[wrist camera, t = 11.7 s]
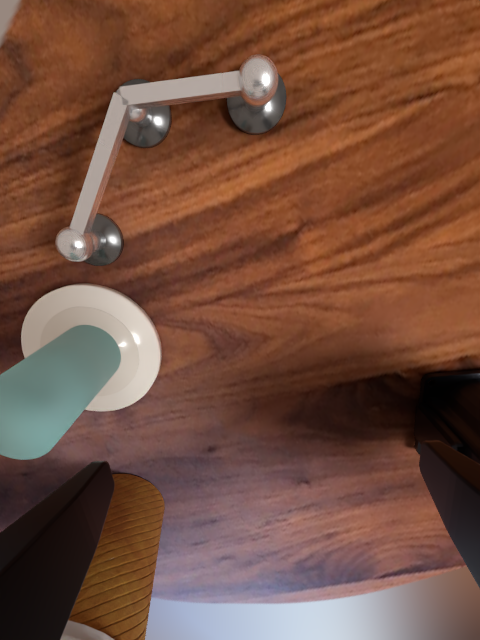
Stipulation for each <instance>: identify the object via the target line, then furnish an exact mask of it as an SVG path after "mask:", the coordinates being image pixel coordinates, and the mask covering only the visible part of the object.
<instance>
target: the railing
mask: <svg viewBox="0 0 480 640" xmlns="http://www.w3.org/2000/svg"><path fill="white" fill-rule="evenodd" d="M221 98H227V106H228V111H229V114H230V117H231V119H232V121H233V122H234V124H235V125H236V126H237V127H238V128H239V129H240V130H242V131H243V132H245V133H248V134H252V135H259V134H263V133H266V132H268V131H270V130H271V129H272V128H274V127H275V126H276V124H277V123H278V122H279V120H280V119H281V117H282V114H283V112H284V109H285V104H286V90H285V86H284V83H283V80H282V78H281V77H280V75H279V74H278V73H277V69H276V67H275V65H274V63H273V62H272V61H271V60H270V59H269V58H268V57H267V56H264V55H260V54H256V55H252V56H250V57H249V58H247V59H246V60H245V61H244V62H243V63H242V65H241V67H240V69H239V71H233V72H226V73H218V74H211V75H204V76H196V77H189V78H181V79H174V80H166V81H159V82H152V83H151V82H149V81H146V80H142V79H134V80H130V81H128V82H126V83H124V84H123V85H122V86H121V87H120V88H119V89H118V90H117V91H116V93H115V92H114V93H113V96H112V99H111V102H110V105H109V108H108V111H107V114H106V118H105V121H104V124H103V127H102V130H101V133H100V136H99V139H98V142H97V145H96V148H95V151H94V154H93V157H92V161H91V164H90V167H89V170H88V173H87V176H86V179H85V182H84V185H83V188H82V191H81V194H80V197H79V200H78V204H77V207H76V210H75V213H74V216H73V219H72V222H71V225H70V226H69V227H65V228H63V229H62V230H60V231H59V232H58V234H57V236H56V239H55V245H56V248H57V250H58V252H59V253H60V255H61V256H63V257H64V258H65V259H67V260H70V261H74V262H80V261H85V262H87V263H89V264H92V265H95V266H103V265H107V264H110V263H112V262H114V261H115V260H117V259H118V258H119V256H120V255H121V253H122V250H123V245H124V241H123V236H122V233H121V230H120V229H119V227H118V226H117V224H116V223H115V222H114V221H113V220H112V219H110V218H109V217H107V216H105V215H102V214H97V211H98V208H99V205H100V203H101V200H102V197H103V194H104V191H105V188H106V185H107V183H108V180H109V177H110V174H111V171H112V168H113V165H114V163H115V160H116V157H117V154H118V151H119V148H120V145H121V142H122V140H123V138H124V139H125V140H127V141H128V142H130V143H131V144H133V145H135V146H137V147H141V148H151V147H154V146H157V145H159V144H160V143H161V142H162V141H163V140H164V139H165V138H166V137H167V135H168V133H169V130H170V127H171V118H172V117H171V110H170V106H169V105H175V104H183V103H190V102H198V101H206V100H214V99H221Z"/></svg>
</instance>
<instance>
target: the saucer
mask: <svg viewBox="0 0 480 640" xmlns="http://www.w3.org/2000/svg"><path fill="white" fill-rule="evenodd" d="M78 325H91V326H95V327H98V328H100V329H102V330H104V331H106V332H107V333H108V334H110V335H111V336H112V337H113V339H114V340H115V341H116V343H117V345H118V347H119V349H120V353H121V362H120V365H119V368H118V369H117V371H116V372H115V373H114V375H113V376H112V377H111V378H110V379H109V381H108V382H107V383H106V384H105V385H104V387H103V388H102V389H101V390H100V392H99V393H98V394H97V395H96V396H95V398H94V399H93V400H92V401H91V402H90V404H89V405H88V406H87V407H86V408H85V410H90V411H113V410H118V409H122V408H125V407H127V406H130V405H131V404H133V403H135V402H137V401H138V400H139V399H141V398H142V397H143V396H144V395H145V394H146V393H147V392H148V390H149V389H150V388H151V386H152V384H153V383H154V381H155V379H156V377H157V375H158V373H159V370H160V367H161V361H162V347H161V341H160V338H159V334H158V332H157V330H156V327H155V325H154V324H153V322H152V320H151V319H150V317H149V316H148V315H147V313H146V312H145V311H144V310H143V309H142V308H141V307H140V306H139V305H138V304H137V303H136V302H135V301H133V300H132V299H131V298H129V297H128V296H126V295H125V294H123V293H121V292H119V291H117V290H115V289H112V288H109V287H106V286H102V285H98V284H90V283H78V284H72V285H68V286H64V287H61V288H59V289H56V290H54V291H52V292H50V293H48V294H46V295H44V296H43V297H41V298H40V299H39V300H38V301H37V302H36V303H35V304H34V305H33V306H32V307H31V308H30V310H29V311H28V313H27V315H26V317H25V319H24V322H23V326H22V332H21V344H22V351H23V354H24V358H27V357H28V356H30V355H31V354H33V353H34V352H36V351H37V350H39V349H40V348H42V347H43V346H45V345H46V344H48V343H49V342H51V341H52V340H54V339H55V338H57V337H58V336H60V335H61V334H63V333H64V332H66V331H68V330H69V329H71V328H73V327H75V326H78Z"/></svg>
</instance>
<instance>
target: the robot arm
mask: <svg viewBox="0 0 480 640" xmlns="http://www.w3.org/2000/svg"><path fill="white" fill-rule="evenodd" d="M430 380H433V381H432V382H431V383H429V381H430ZM428 383H429V384H428ZM414 436H415V446H414V447H415V449H416V451H417V452H418V453H419V454H420V462H419V467H420V471H421V474H422V476H423V479H424V481H425V483H426V485H427V487H428V490H429V492H430V494H431V496H432V499H433V501H434V503H435V505H436V507H437V510H438V512H439V514H440V516H441V518H442V521H443V523H444V525H445V527H446V529H447V531H448V533H449V535H450V537H451V539H452V540H453V542H454V544H455V546H456V548H457V549H458V551H459V553H460V555H461V556H462V558H463V560H464V562H465V563H466V565H467V567H468V569H469V570H470V572H471V574H472V575H473V577H474V579H475V581H476V582H477V584H478V586H479V588H480V370H472V371H459V372H445V373H431V374H426V375H425V376H424V377H423V378H422V380H421V388H420V398H419V404H418V405H417V408H416V417H415V427H414ZM114 487H115V483H114V479H113V476H112V473H111V469H110V466H109V464H108V462H107V461H95V462H92V463H90V464H89V465H88V466H86V467H85V468H84V469H83V470H81V471H80V472H79V473H77V474H76V475H75V476H73V477H72V478H71V479H70V480H68V481H67V482H66V483H64V484H63V485H62V486H61V487H59V488H58V489H57V490H55V491H54V492H53V493H51V494H50V495H49V496H48V497H46V498H45V499H44V500H42V501H41V502H40V503H38V504H37V505H36V506H35V507H33V508H32V509H31V510H29V511H28V512H27V513H26V514H24V515H23V516H22V517H20V518H19V519H18V520H16V521H15V522H14V523H13V524H11V525H10V526H9V527H7V528H6V529H5V530H3V531H2V532H1V533H0V640H60V639H61V637H62V634H63V632H64V629H65V627H66V624H67V622H68V619H69V617H70V614H71V612H72V609H73V607H74V604H75V602H76V599H77V597H78V594H79V592H80V589H81V587H82V584H83V582H84V579H85V577H86V574H87V572H88V569H89V567H90V564H91V562H92V559H93V556H94V554H95V551H96V548H97V546H98V543H99V539H100V536H101V533H102V530H103V526H104V523H105V519H106V516H107V513H108V509H109V506H110V503H111V499H112V496H113V492H114Z"/></svg>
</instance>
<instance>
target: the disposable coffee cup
mask: <svg viewBox="0 0 480 640" xmlns="http://www.w3.org/2000/svg"><path fill="white" fill-rule="evenodd" d="M112 476H113V479H114V483H115V487H114V492H113V496H112V499H111V503H110V506H109V509H108V513H107V516H106V519H105V523H104V526H103V530H102V533H101V536H100V539H99V543H98V546H97V548H96V551H95V554H94V556H93V559H92V562H91V564H90V567H89V569H88V572H87V574H86V577H85V579H84V582H83V584H82V587H81V589H80V592H79V594H78V597H77V599H76V602H75V604H74V607H73V609H72V612H71V614H70V617H69V619H68V622H67V624H66V627H65V629H64V632H63V634H62V637H61V639H60V640H145V634H146V626H147V621H148V613H149V607H150V600H151V594H152V588H153V580H154V574H155V568H156V560H157V554H158V547H159V541H160V533H161V527H162V521H163V514H164V509H165V506H164V500H163V497H162V495H161V493H160V492H159V491H158V490H157V488H156V487H155V486H154V485H152V484H151V483H150V482H148V481H146V480H144V479H142V478H140V477H137V476H134V475H130V474H112Z"/></svg>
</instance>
